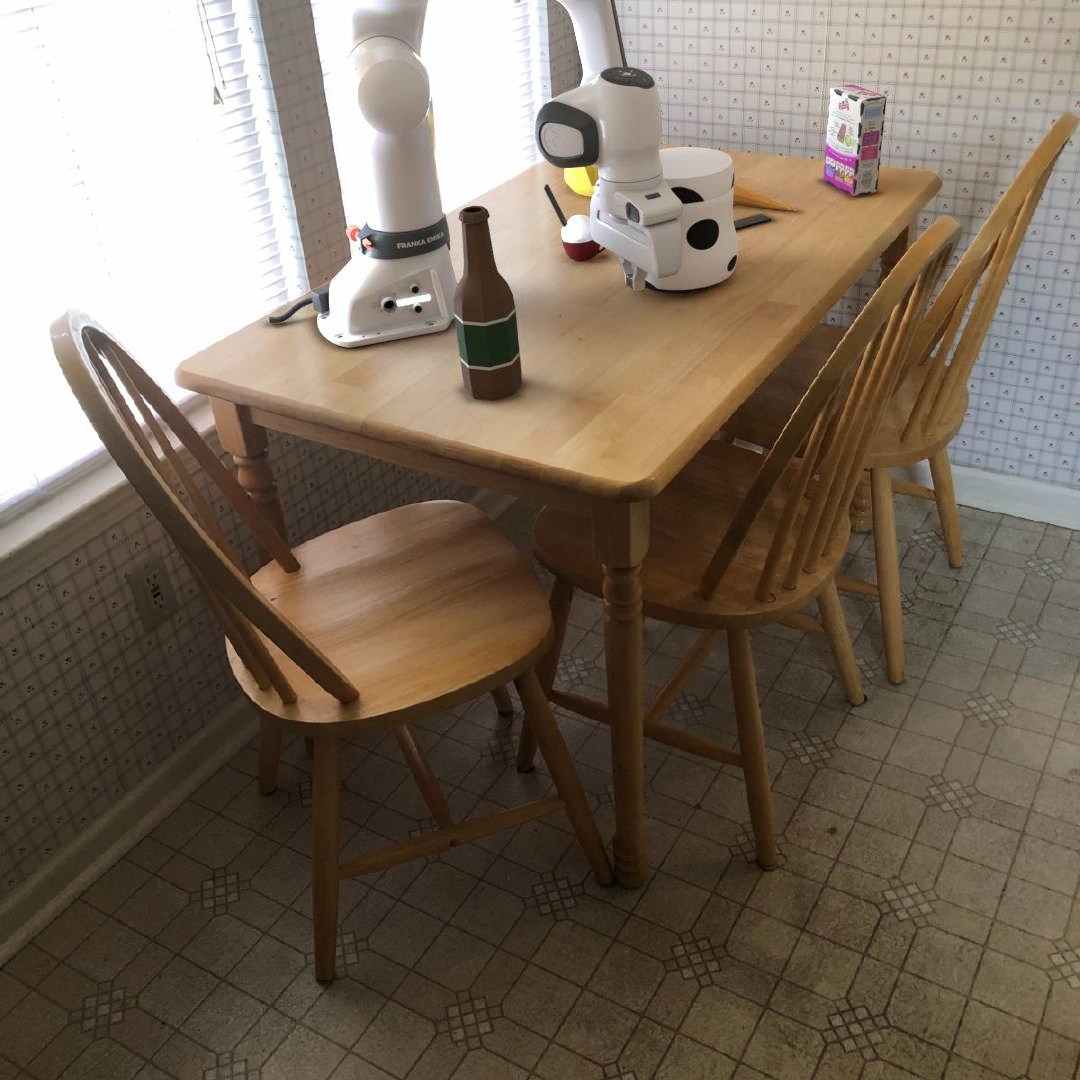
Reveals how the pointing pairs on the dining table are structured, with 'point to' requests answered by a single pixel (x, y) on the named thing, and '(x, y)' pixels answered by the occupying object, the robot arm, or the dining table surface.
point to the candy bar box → (854, 139)
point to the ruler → (751, 221)
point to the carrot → (755, 199)
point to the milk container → (701, 218)
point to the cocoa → (575, 233)
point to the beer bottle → (485, 315)
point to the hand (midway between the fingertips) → (634, 287)
